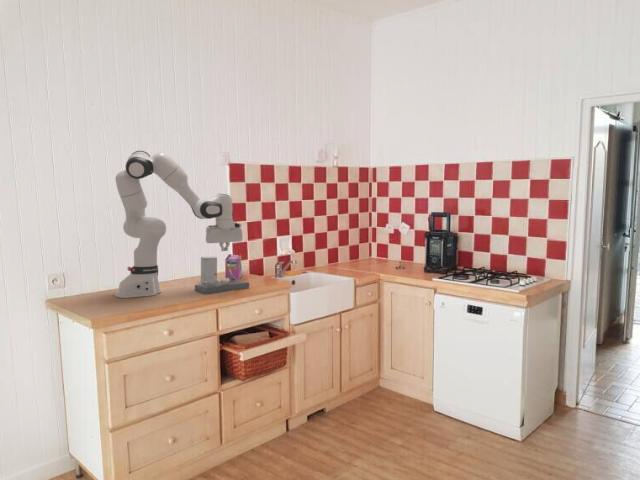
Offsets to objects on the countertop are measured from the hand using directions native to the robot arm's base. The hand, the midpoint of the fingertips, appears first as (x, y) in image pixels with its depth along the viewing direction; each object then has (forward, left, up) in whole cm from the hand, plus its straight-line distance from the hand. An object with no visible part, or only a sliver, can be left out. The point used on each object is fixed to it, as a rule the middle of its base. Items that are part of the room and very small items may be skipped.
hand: (224, 250), depth 260 cm
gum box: (+23, +29, -21) cm, 43 cm away
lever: (+9, +7, -17) cm, 20 cm away
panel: (0, +3, -21) cm, 21 cm away
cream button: (0, 0, -17) cm, 17 cm away
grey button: (-8, 0, -17) cm, 19 cm away
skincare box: (+5, +27, -21) cm, 35 cm away
